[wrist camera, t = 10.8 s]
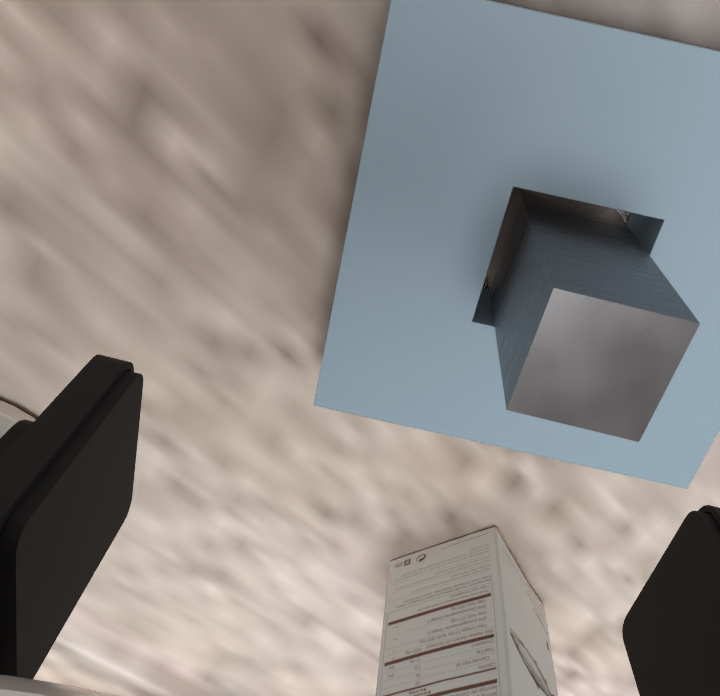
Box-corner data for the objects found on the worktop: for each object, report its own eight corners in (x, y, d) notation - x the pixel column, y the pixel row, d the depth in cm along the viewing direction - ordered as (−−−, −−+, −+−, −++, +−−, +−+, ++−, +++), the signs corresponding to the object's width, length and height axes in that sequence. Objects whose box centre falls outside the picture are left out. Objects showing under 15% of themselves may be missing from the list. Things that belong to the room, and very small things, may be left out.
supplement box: (547, 605, 42) (583, 826, 31) (438, 635, 45) (435, 851, 34) (498, 520, 40) (518, 730, 29) (384, 557, 42) (363, 764, 31)
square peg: (576, 293, 33) (639, 442, 22) (486, 271, 33) (506, 409, 22) (612, 205, 31) (700, 323, 20) (516, 181, 31) (553, 287, 20)
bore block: (663, 439, 36) (686, 488, 32) (326, 363, 36) (313, 405, 32) (845, 78, 27) (904, 93, 24) (401, -20, 27) (394, -20, 24)
